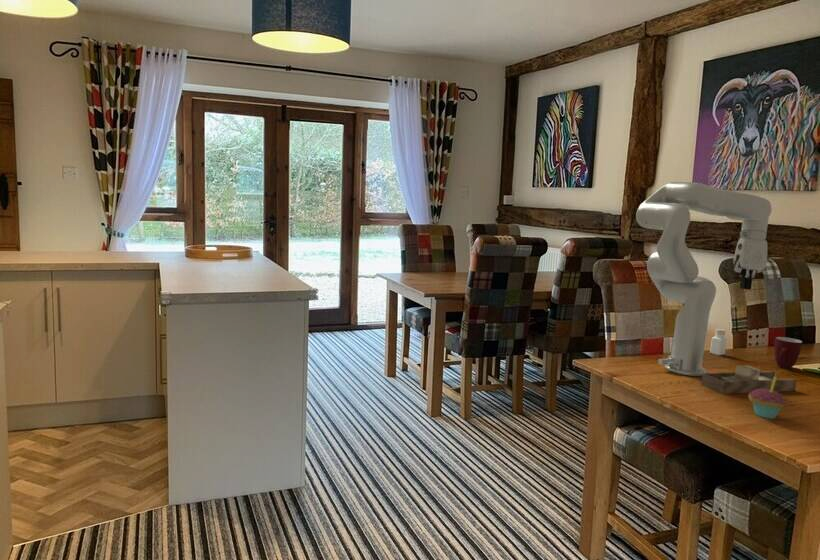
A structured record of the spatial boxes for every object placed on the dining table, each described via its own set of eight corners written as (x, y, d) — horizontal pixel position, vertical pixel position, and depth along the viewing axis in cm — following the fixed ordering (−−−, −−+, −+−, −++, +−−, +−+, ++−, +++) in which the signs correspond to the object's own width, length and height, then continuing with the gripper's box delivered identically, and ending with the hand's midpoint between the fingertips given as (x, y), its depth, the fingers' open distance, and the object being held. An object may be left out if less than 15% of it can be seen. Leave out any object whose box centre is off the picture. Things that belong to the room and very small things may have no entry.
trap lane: (722, 393, 175) (724, 382, 174) (700, 384, 183) (702, 373, 183) (794, 390, 183) (796, 379, 182) (771, 381, 191) (772, 371, 190)
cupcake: (790, 421, 155) (797, 377, 153) (759, 420, 154) (766, 376, 152) (768, 409, 163) (775, 367, 162) (739, 408, 163) (745, 366, 161)
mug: (796, 373, 202) (800, 345, 201) (768, 368, 207) (773, 340, 206) (798, 367, 211) (803, 340, 209) (772, 362, 215) (776, 335, 214)
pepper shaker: (719, 356, 220) (722, 331, 218) (709, 353, 223) (712, 328, 222) (725, 355, 222) (729, 330, 221) (715, 352, 225) (718, 327, 224)
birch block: (746, 383, 179) (748, 370, 178) (734, 378, 183) (736, 365, 182) (758, 382, 180) (760, 369, 179) (746, 378, 184) (747, 365, 183)
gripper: (744, 235, 196) (736, 290, 199) (779, 237, 201) (771, 291, 203) (726, 233, 204) (719, 286, 206) (761, 235, 208) (753, 287, 211)
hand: (745, 288), depth 205 cm, fingers closed
